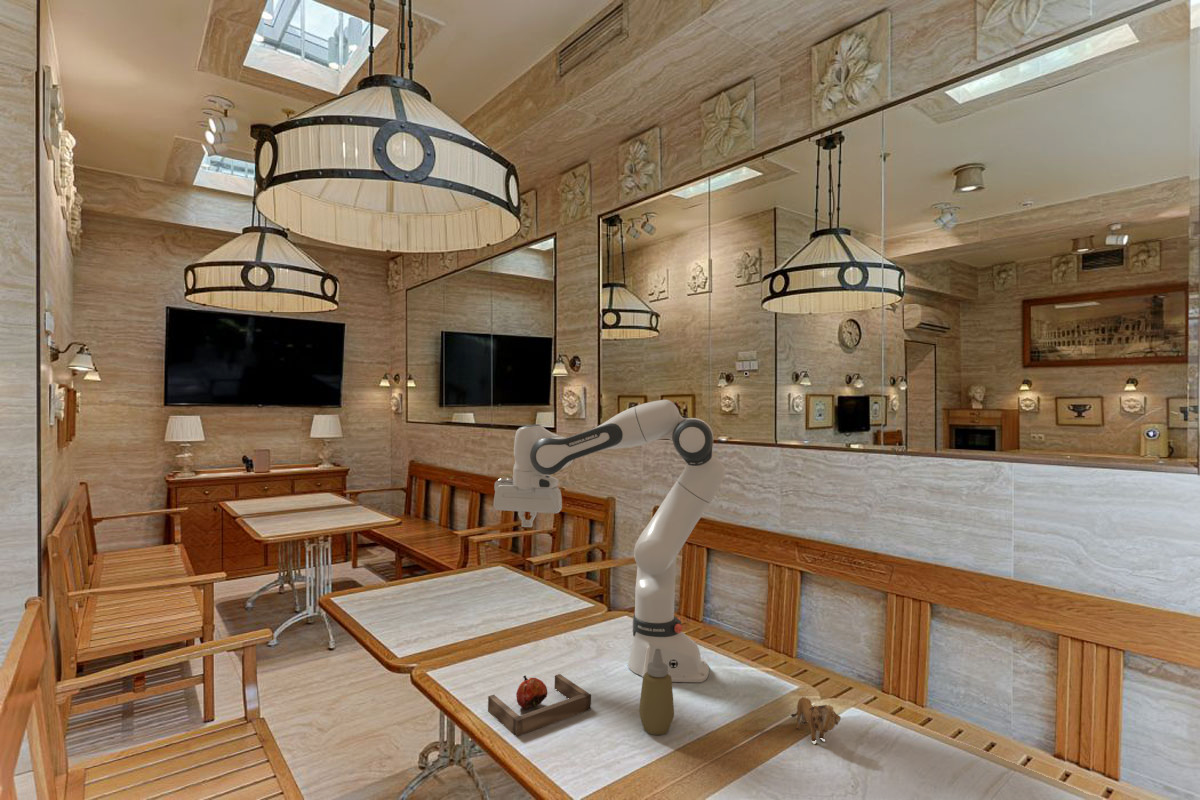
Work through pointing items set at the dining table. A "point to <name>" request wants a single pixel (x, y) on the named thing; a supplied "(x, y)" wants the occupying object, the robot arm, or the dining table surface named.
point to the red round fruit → (531, 693)
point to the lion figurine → (816, 717)
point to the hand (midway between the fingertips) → (527, 526)
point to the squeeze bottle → (656, 697)
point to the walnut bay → (542, 709)
